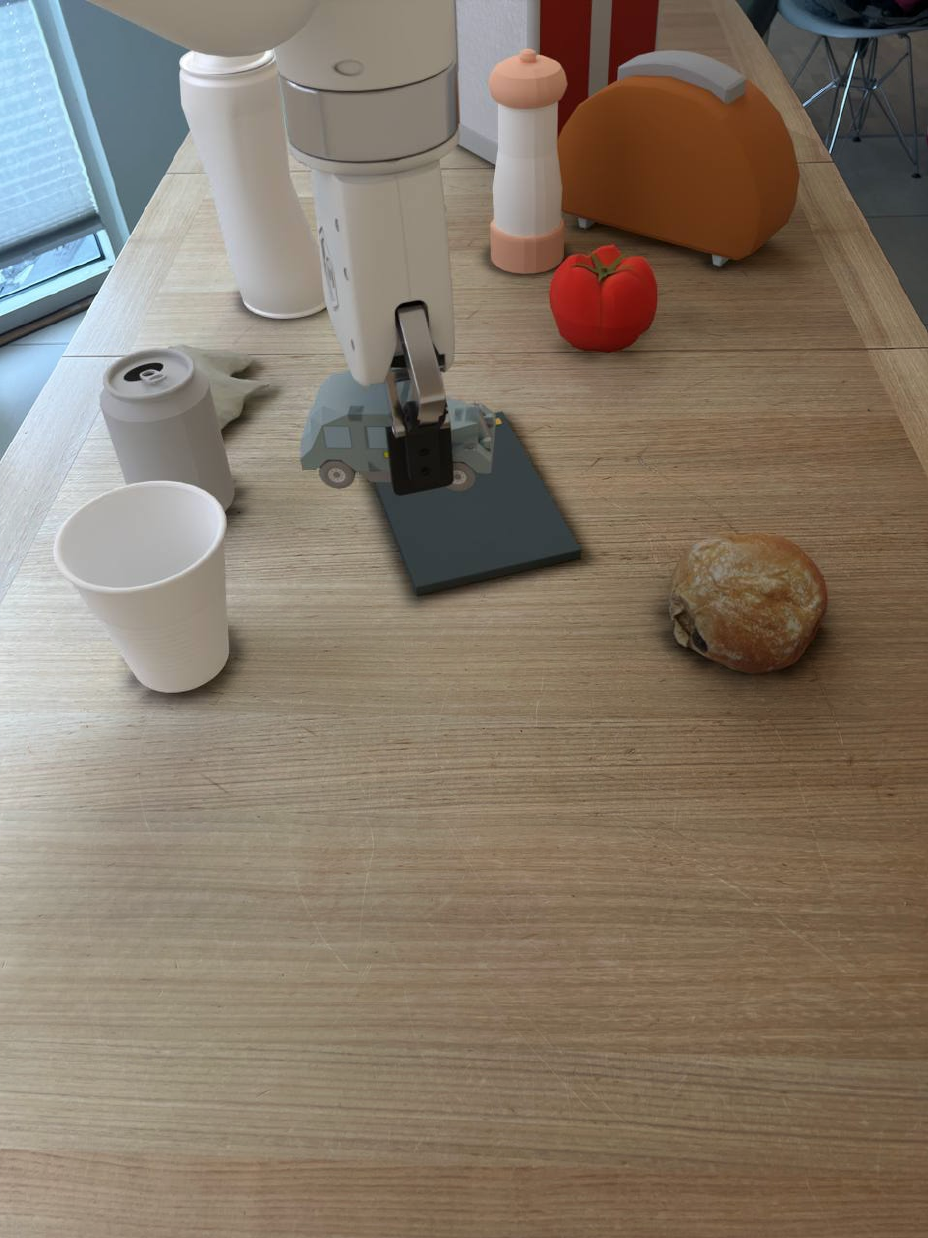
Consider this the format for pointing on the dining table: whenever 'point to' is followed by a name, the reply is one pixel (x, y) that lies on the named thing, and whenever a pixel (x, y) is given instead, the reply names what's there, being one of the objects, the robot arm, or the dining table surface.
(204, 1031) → the dining table surface
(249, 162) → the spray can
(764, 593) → the bread roll
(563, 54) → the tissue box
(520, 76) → the pepper shaker
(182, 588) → the cup
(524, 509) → the mat
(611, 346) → the tomato
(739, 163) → the toaster
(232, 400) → the crumpled beige cloth
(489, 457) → the toy car
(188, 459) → the can
